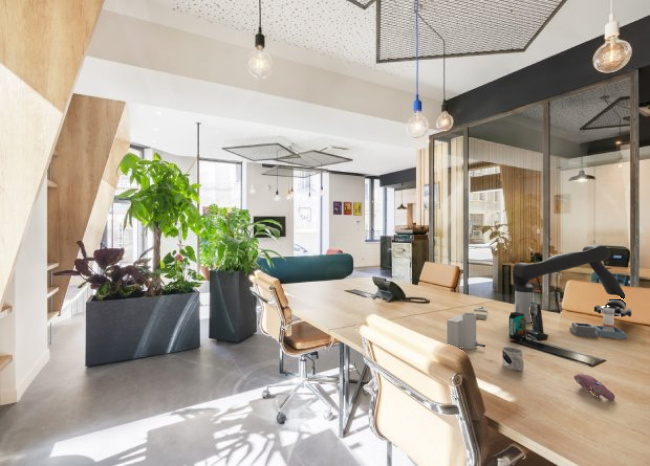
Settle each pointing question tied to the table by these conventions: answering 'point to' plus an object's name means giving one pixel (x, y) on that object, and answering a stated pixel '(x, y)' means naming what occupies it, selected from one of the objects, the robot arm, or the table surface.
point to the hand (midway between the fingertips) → (610, 313)
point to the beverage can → (517, 325)
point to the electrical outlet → (481, 312)
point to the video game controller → (593, 386)
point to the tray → (610, 332)
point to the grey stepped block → (462, 331)
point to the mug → (512, 358)
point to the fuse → (608, 319)
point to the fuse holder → (583, 330)
